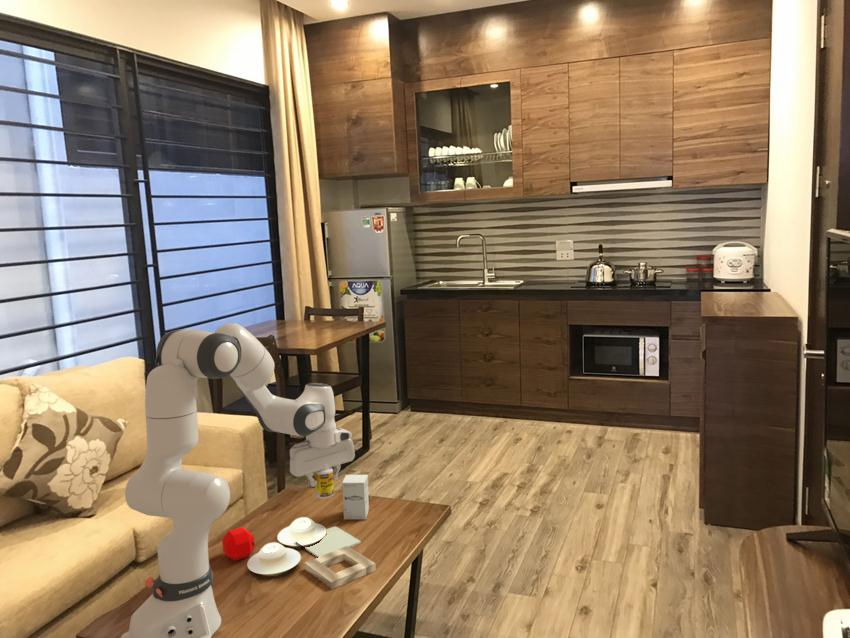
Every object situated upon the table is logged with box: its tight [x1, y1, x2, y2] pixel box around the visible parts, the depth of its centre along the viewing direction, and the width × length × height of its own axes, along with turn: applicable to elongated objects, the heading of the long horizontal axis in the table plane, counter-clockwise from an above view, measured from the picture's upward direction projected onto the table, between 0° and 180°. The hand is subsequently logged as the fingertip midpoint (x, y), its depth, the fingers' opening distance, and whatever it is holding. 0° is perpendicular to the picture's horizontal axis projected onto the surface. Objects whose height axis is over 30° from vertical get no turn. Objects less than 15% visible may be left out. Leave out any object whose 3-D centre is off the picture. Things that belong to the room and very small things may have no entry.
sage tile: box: [304, 525, 362, 558], centre depth 204 cm, size 14×14×1 cm
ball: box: [221, 526, 256, 562], centre depth 197 cm, size 8×8×8 cm
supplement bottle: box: [313, 464, 335, 500], centre depth 201 cm, size 6×6×10 cm
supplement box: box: [341, 474, 370, 521], centre depth 221 cm, size 7×7×13 cm
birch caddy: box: [304, 546, 377, 590], centre depth 187 cm, size 14×14×2 cm
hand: (324, 482), depth 201 cm, fingers closed on supplement bottle, 6 cm apart
